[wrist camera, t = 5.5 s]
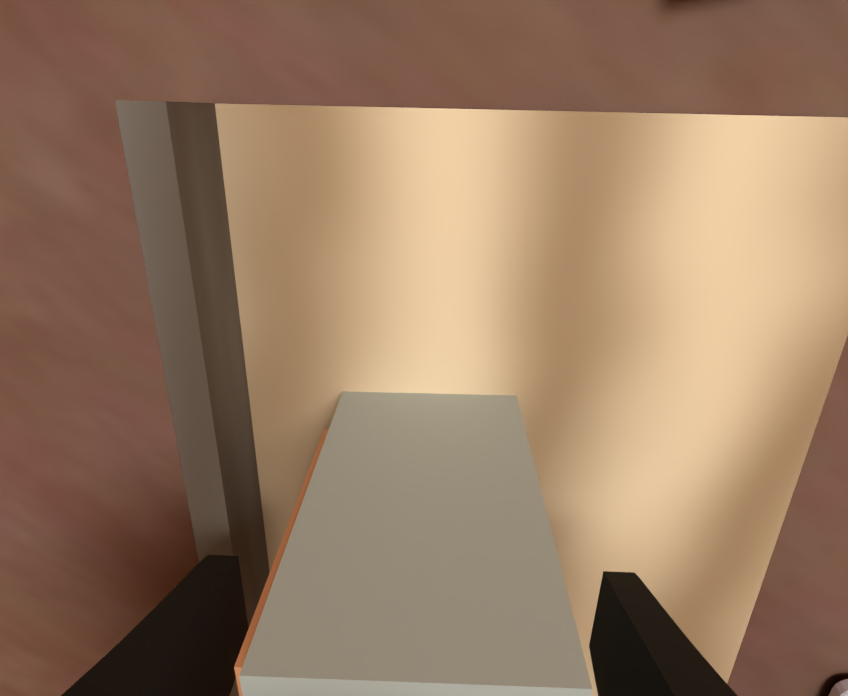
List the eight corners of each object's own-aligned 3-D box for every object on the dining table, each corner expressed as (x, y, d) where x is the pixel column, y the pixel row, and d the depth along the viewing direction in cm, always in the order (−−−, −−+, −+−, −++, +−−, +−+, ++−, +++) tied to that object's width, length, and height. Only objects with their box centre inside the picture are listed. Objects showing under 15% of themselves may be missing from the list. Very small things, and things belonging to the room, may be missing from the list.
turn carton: (516, 395, 13) (592, 688, 6) (500, 591, 15) (542, 952, 9) (331, 390, 13) (217, 674, 6) (344, 586, 15) (269, 938, 9)
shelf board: (875, 118, 11) (1028, 120, 8) (656, 813, 21) (692, 930, 18) (191, 103, 12) (104, 100, 9) (282, 795, 21) (256, 906, 18)
